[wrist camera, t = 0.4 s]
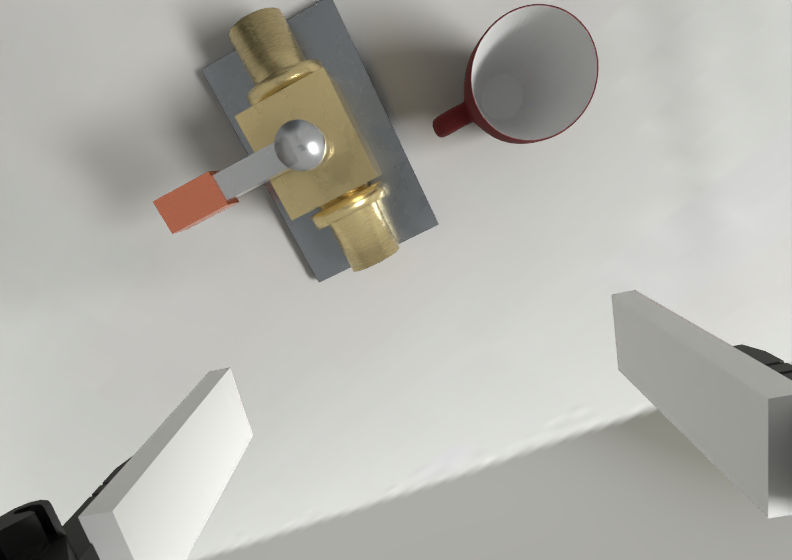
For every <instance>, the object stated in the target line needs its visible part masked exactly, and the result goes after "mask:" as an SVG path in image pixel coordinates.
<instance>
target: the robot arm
mask: <svg viewBox="0 0 792 560" xmlns="http://www.w3.org/2000/svg"><path fill="white" fill-rule="evenodd" d="M612 305H613V316H614V327H615V338H616V348H617V359H618V370H619V371H620V372H621V373H622V374H623V375H624V376H625V377H626V378H627V379H628V380H629V381H630V382H631V383H632V384H633V385H634V386H635V387H636V388H637V389H638V390H639V391H640V392H641V393H642V394H643V395H644V396H645V397H646V398H647V399H648V400H649V401H650V402H651V403H652V404H653V405H654V406H655V407H656V408H657V409H658V410H659V411H660V412H661V413H662V414H664V416H666V417H667V418H668V419H669V420H670V421H671V422H672V423H673V424H674V425H675V426H676V427H677V428H678V429H679V430H680V431H681V432H682V433H683V434H684V435H685V436H686V437H687V438H688V439H689V440H690V441H691V442H692V443H693V444H694V445H695V446H696V447H697V448H698V449H699V450H700V451H701V452H702V453H703V454H704V455H705V456H706V457H707V458H708V459H709V460H710V461H711V462H712V463H713V464H714V465H715V466H716V467H717V468H718V469H719V470H720V471H721V472H722V473H723V474H724V475H725V476H726V477H727V478H728V479H729V480H730V481H731V482H732V483H733V484H734V485H735V486H736V487H737V488H738V489H739V490H740V491H741V492H742V493H743V494H744V495H745V496H746V497H747V498H748V499H749V500H750V501H751V502H752V503H753V504H754V505H755V506H756V507H757V508H758V509H759V510H760V511H761V512H762V513H763V514H764V515H765V516H766V517H767V518H773V517H780V516H786V515H792V365H790V364H788V363H784V361H783V360H781V359H779V358H777V357H775V356H773V355H772V354H770V353H768V352H766V351H763V350H759V349H756V348H752V347H749V346H745V345H737V346H731V345H730V344H728V343H726V342H724V341H723V340H721V339H719V338H717V337H716V336H714V335H712V334H710V333H709V332H707V331H705V330H704V329H702V328H700V327H698V326H697V325H695V324H693V323H691V322H690V321H688V320H686V319H684V318H683V317H681V316H679V315H677V314H676V313H674V312H672V311H671V310H669V309H667V308H665V307H664V306H662V305H660V304H658V303H657V302H655V301H653V300H651V299H650V298H648V297H646V296H645V295H643V294H641V293H639V292H638V291H636V290H633V291H628V292H623V293H618V294H612ZM252 436H253V435H252V432H251V429H250V426H249V423H248V420H247V417H246V414H245V411H244V408H243V405H242V402H241V399H240V396H239V393H238V390H237V387H236V384H235V381H234V378H233V375H232V372H231V369H230V368H225V369H220V370H215V371H210V372H208V374H207V375H206V376H205V377H204V378H203V379H202V380H201V381H200V382H199V384H198V385H197V386H196V387H195V388H194V389H193V390H192V391H191V392H190V393H189V395H188V396H187V397H186V398H185V399H184V400H183V401H182V402H181V403H180V405H179V406H178V407H177V408H176V409H175V410H174V411H173V412H172V413H171V415H170V416H169V417H168V418H167V419H166V420H165V421H164V422H163V423H162V425H161V426H160V427H159V428H158V429H157V430H156V431H155V432H154V433H153V435H152V436H151V437H150V438H149V439H148V440H147V441H146V442H145V443H144V445H143V446H142V447H141V448H140V449H139V450H138V451H137V452H136V453H135V454H134V456H132V457H131V458H129V459H128V460H127V461H125V462H124V463H123V464H121V465H120V466H119V467H117V468H116V469H115V470H114V471H113V472H112V473H111V474H110V475H109V476H108V478H107V479H106V480H105V481H104V482H103V485H100V486H99V487H98V488H97V489H96V491H95V492H94V493H93V494H92V497H89V498H88V499H87V500H86V501H85V502H84V504H83V505H82V506H81V507H80V508H79V509H78V510H77V511H76V512H75V513H74V514H73V516H72V517H71V518H70V519H69V520H68V521H67V522H66V523H65V524H64V525H63V526H62V525H61V523H60V521H59V519H58V517H57V515H56V513H55V511H54V509H53V507H52V505H51V503H50V502H49V501H48V500H38V501H34V502H30V503H27V504H24V505H22V506H20V507H17V508H15V509H13V510H11V511H9V512H8V513H6V514H4V515H2V516H0V560H186V559H187V557H188V555H189V553H190V551H191V550H192V548H193V546H194V544H195V542H196V540H197V538H198V537H199V535H200V533H201V531H202V529H203V527H204V525H205V524H206V522H207V520H208V518H209V516H210V514H211V512H212V511H213V509H214V507H215V505H216V503H217V501H218V499H219V498H220V496H221V494H222V492H223V490H224V488H225V486H226V485H227V483H228V481H229V479H230V477H231V475H232V473H233V472H234V470H235V468H236V466H237V464H238V462H239V460H240V459H241V457H242V455H243V453H244V451H245V449H246V447H247V446H248V444H249V442H250V440H251V438H252Z"/></svg>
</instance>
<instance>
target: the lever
mask: <svg viewBox="0 0 792 560" xmlns="http://www.w3.org/2000/svg"><path fill="white" fill-rule="evenodd" d="M329 150H330V145H329V140H328V138H327V135H326V134H325V132H324V131H323V130H322V129H321V128H320V127H318V126H317V125H314V124H312V123H310V122H307V121H305V120H299V119H297V120H291V121H288V122H286V123H285V124H283V125H282V126H281V127H280V128H279V130H278V131H277V133H276V136H275V141H274V143H272V144H270V145H268V146H266V147H264V148H262V149H261V150H259V151H257V152H255V153H253V154H251V155H249V156H248V157H246V158H244V159H242V160H240V161H238V162H237V163H235V164H233V165H231V166H229V167H227V168H225V169H224V170H222V171H210V172H207V173H205V174H203V175H201V176H199V177H197V178H196V179H194V180H192V181H190V182H188V183H186V184H184V185H183V186H181V187H179V188H177V189H175V190H173V191H172V192H170V193H168V194H166V195H164V196H162V197H160V198H159V199H157V200H155V201H153V203H154V205H155V206H156V208H157V209H158V211H159V213H160V214H161V216H162V218H163V219H164V221H165V222H166V224H167V226H168V227H169V229H170V231H171V232H172V234H174V233H177V232H180V231H183V230H187V229H189V228H191V227H193V226H195V225H197V224H199V223H200V222H202V221H204V220H206V219H208V218H210V217H212V216H214V215H216V214H218V213H219V212H221V211H223V210H225V209H227V208H229V207H231V206H233V205H235V204H237V203H238V202H239V201H238V199H237V198H238V197H240V196H242V195H244V194H245V193H247V192H249V191H251V190H253V189H255V188H257V187H259V186H261V185H263V184H264V183H266V182H268V181H270V180H272V179H274V178H276V177H278V176H280V175H281V174H283V173H285V172H287V171H289V170H291V169H292V170H295V171H308V170H314V169H317V168H319V167H320V166H322V165H323V164H324V163H325V161H326V160H327V158H328V155H329Z"/></svg>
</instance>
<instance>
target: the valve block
mask: <svg viewBox="0 0 792 560" xmlns="http://www.w3.org/2000/svg"><path fill="white" fill-rule="evenodd" d="M229 38H230V40H231V42H232V44H233V46H234V48H235V49H236V50H235V51H233V52H231V53H230V54H228V55H226V56H225V57H223V58H221V59H219V60H218V61H216V62H214V63H212V64H211V65H209V66H207V67H205V68H204V69H202V71H203V73H204V75H205V77H206V79H207V81H208V82H209V84H210V86H211V88H212V90H213V91H214V93H215V95H216V97H217V99H218V100H219V102H220V104H221V106H222V108H223V109H224V111H225V113H226V115H227V117H228V119H229V120H230V122H231V124H232V126H233V128H234V129H235V131H236V133H237V135H238V137H239V138H240V140H241V142H242V144H243V146H244V147H245V149H246V151H247V153H248V155H251V154H253V153H255V152H257V151H259V150H261V149H262V148H264V147H266V146H268V145H270V144H272V143H274V141H275V136H276V133H277V131H278V130H279V128H280V127H281V126H282V125H283V124H285V123H286V122H288V121H291V120H297V119H299V120H305V121H307V122H310V123H312V124H314V125H317V126H318V127H320V128H321V129H322V130H323V131H324V132H325V134H326V135H327V138H328V140H329V145H330V150H329V155H328V158H327V160H326V161H325V163H324V164H323V165H322V166H320V167H319V168H317V169H314V170H308V171H295V170H292V169H291V170H289V171H287V172H285V173H283V174H281V175H280V176H278V177H276V178H274V179H272V180H270V181H268V182H266V183H264V184H265V186H266V187H267V189H268V191H269V193H270V195H271V196H272V198H273V200H274V202H275V204H276V205H277V207H278V209H279V211H280V213H281V214H282V216H283V218H284V220H285V222H286V224H287V225H288V227H289V229H290V231H291V233H292V234H293V236H294V238H295V240H296V242H297V243H298V245H299V247H300V249H301V251H302V252H303V254H304V256H305V258H306V260H307V262H308V263H309V265H310V267H311V269H312V271H313V272H314V274H315V276H316V278H317V280H318V281H319V282H321V281H323V280H325V279H327V278H329V277H331V276H334V275H336V274H338V273H340V272H342V271H344V270H346V269H348V268H350V267H351V268H352V270H353V271H354V272H356V271H360V270H363V269H366V268H368V267H370V266H373V265H375V264H377V263H379V262H381V261H382V260H384V259H386V258H388V257H389V256H391V255H392V254H394V253H395V252H396V251H397V250H398V249H399V246H398V244H399V243H401V242H404V241H406V240H408V239H410V238H412V237H414V236H416V235H418V234H420V233H422V232H424V231H426V230H428V229H430V228H432V227H434V226H436V225H438V222H437V220H436V218H435V215H434V213H433V211H432V209H431V207H430V205H429V203H428V201H427V199H426V196H425V194H424V192H423V190H422V188H421V186H420V184H419V182H418V180H417V177H416V175H415V173H414V171H413V169H412V167H411V165H410V163H409V161H408V158H407V156H406V154H405V152H404V150H403V148H402V146H401V144H400V141H399V139H398V137H397V135H396V133H395V131H394V129H393V127H392V125H391V122H390V120H389V118H388V116H387V114H386V112H385V110H384V108H383V106H382V103H381V101H380V99H379V97H378V95H377V93H376V91H375V89H374V87H373V84H372V82H371V80H370V78H369V76H368V74H367V72H366V70H365V68H364V65H363V63H362V61H361V59H360V57H359V55H358V53H357V51H356V48H355V46H354V44H353V42H352V40H351V38H350V36H349V34H348V32H347V29H346V27H345V25H344V23H343V21H342V19H341V17H340V15H339V13H338V10H337V8H336V6H335V4H334V2H333V0H322V1H320V2H318V3H316V4H315V5H313V6H311V7H309V8H308V9H306V10H304V11H303V12H301V13H299V14H297V15H296V16H294V17H292V18H290V19H289V20H287V21H286V19H285V17H284V15H283V13H282V11H281V10H280V9H278V8H265V9H261V10H258V11H255V12H253V13H251V14H249V15H247V16H245V17H244V18H242V19H241V20H239V21H238V22H237V23H236V24H235V25H234V26H233V27H232V28H231V30H230V32H229Z"/></svg>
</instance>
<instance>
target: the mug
mask: <svg viewBox="0 0 792 560" xmlns="http://www.w3.org/2000/svg"><path fill="white" fill-rule="evenodd" d="M597 78H598V56H597V51H596V48H595V45H594V42H593V39H592V37H591V35H590V34H589V32H588V30H587V29H586V27H585V26H584V25H583V24H582V23H581V22H580V21H579V20H578V19H577V18H576V17H575V16H574V15H572V14H571V13H569V12H567V11H566V10H564V9H561V8H559V7H556V6H552V5H546V4H532V5H526V6H522V7H519V8H517V9H514V10H512V11H510V12H508V13H506V14H505V15H503V16H502V17H500V18H499V19H498V20H496V21H495V22H494V23H493V24H492V25H491V26H490V27H489V28H488V30H487V31H486V32H485V33H484V35H483V36H482V37H481V39H480V40H479V42H478V43H477V45H476V47H475V48H474V50H473V52H472V54H471V57H470V59H469V62H468V65H467V69H466V74H465V83H464V102H463V103H461V104H459V105H457V106H456V107H454V108H452V109H450V110H448V111H446V112H445V113H443V114H441V115H440V116H438V117H437V118H436V119H434V121H433V128H434V131H435V133H436V134H437V135H438V136H439V137H445V136H447V135H449V134H451V133H453V132H455V131H456V130H458V129H460V128H462V127H463V126H465V125H467V124H469V123H471V122H474V123H476V124H477V125H478V126H479V127H480V128H481V129H482V130H484V131H485V132H486V133H488V134H489V135H491V136H492V137H494V138H496V139H499V140H501V141H505V142H508V143H516V144H527V143H534V142H538V141H542V140H546V139H549V138H552V137H554V136H556V135H558V134H560V133H562V132H563V131H565V130H566V129H568V128H569V127H570V126H571V125H573V124H574V123H575V122H576V121H577V120H578V119H579V118H580V116H581V115H582V114H583V113H584V111H585V110H586V108H587V106H588V105H589V103H590V101H591V99H592V97H593V94H594V91H595V88H596V84H597Z"/></svg>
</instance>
